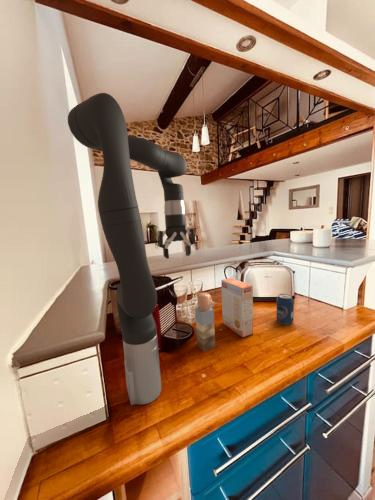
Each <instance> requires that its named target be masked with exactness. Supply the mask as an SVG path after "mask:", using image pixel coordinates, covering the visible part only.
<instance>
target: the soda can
mask: <svg viewBox="0 0 375 500" xmlns="http://www.w3.org/2000/svg"><path fill="white" fill-rule="evenodd" d="M294 306H295V301H294V299H293V296H292V295H291V294H288V293H279V294H278V295H277V297H276V320H277V321H278V323H279V324H282V325H291V324H292V323H294V318H295V317H294V312H295V311H294V310H295V309H294V308H295V307H294Z"/></svg>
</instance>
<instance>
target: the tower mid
mask: <svg viewBox="0 0 375 500" xmlns="http://www.w3.org/2000/svg"><path fill="white" fill-rule="evenodd" d="M195 329H196V330H195V331H196V335H197V334H198V335H199V336H200V337H201V338H203V339H205V338H208V337H211V336H213V335H215V334H216V332H215V322H214V323H211V324H208V325H204V326H202V325H201V324H199V323H198V322H197V321H196V320H195Z"/></svg>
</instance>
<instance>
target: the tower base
mask: <svg viewBox="0 0 375 500" xmlns="http://www.w3.org/2000/svg"><path fill="white" fill-rule="evenodd" d="M196 345H197V346H198V347H199V349H201V350H202V352H206V351H210V350H212V349H215V348H216V336H215V335H213V336H211V337H208V338H205V339H203V338H201V337H200V336H199V335H198V334H197V333H196Z"/></svg>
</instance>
